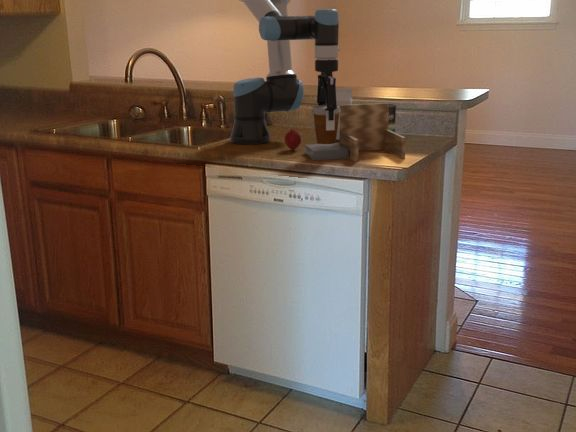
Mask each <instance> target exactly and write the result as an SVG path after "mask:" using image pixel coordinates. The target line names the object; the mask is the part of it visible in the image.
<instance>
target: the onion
mask: <svg viewBox="0 0 576 432" xmlns="http://www.w3.org/2000/svg"><path fill="white" fill-rule="evenodd" d="M301 137H302V136H301V135H300V133H299V132H298V131H297V130H296V129H295V128H294V127H291V128H290V130H289V131H287V132H286V134H285V136H284V144H285V145H286V147H288V148H289V149H290V150H291V151H295V150H296V149H297V148H298V147H299V146H300V145H301V143H302V138H301Z"/></svg>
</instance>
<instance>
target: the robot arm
mask: <svg viewBox="0 0 576 432" xmlns="http://www.w3.org/2000/svg"><path fill="white" fill-rule="evenodd" d="M239 1H240V2H243V4H244V5H245V6H246V7H247V9H248V10H249V11H250V13H252V16H253V17H254V18H255V19H256V20H257V22H258V32H259V37H260V38H261V39H262V40H264V41H266V45H267V55H268V69H269V72H268V74H267V75H266V76H265V78H264V77H249V78H244V79H240V80H237V81H235V82H234V84H233V90H232V91H233V93H232V96H233V115H234V119H233V120H234V122H233V125H232V130H231V133H230V143H232V144H235V143H236V144H237V145H259V144H260V145H261V144H265V143H269V142H270V141H271V133H270V132H269V128H268V125H267V123H266V113H275V112H276V113H277V112H290V111H296V110H297V109H299V108H300V106H301V105H302V103H303V99H304V94H305V92H304V91H305V90H304V85H303V81H302V80H301V79H299V78H298V76H297V73H296V72H295V71H294V70H293V65H292V54H291V53H292V51H291V41H298V40H299V41H303V40H314V58H315V60H314V71H315V72H318V73H320V74H318V75H317V91H316V92H317V94H316V95H317V96H316V104H317V106H321V105H327V108H325V111H326V130H335V109H337V103H336V89H337V87H336V85H337V84H336V77H334V76H333V73H334V72H338V71H339V60H338V59H337V58H338V57H339V52H340V47H339V29H340V28H339V25H340V20H339V12H338V10H337V9H334V8H329V9H327V8H326V9H324V8H322V9H321V8H318V9H316V10H315V12H314V15H299V16H298V15H297V16H294V15H291V16H290V15H289V16H288V5H289V4H290V2H291V0H239Z"/></svg>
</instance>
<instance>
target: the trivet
mask: <svg viewBox="0 0 576 432" xmlns="http://www.w3.org/2000/svg"><path fill="white" fill-rule="evenodd" d="M304 146H305V147H304V148H305V150H304V151H305V154H306V156H308V157H309V158H310V159H311V160H313V161H321V159H325V160H337V159H338V158H343V159H350V158H349V149H348V148H346V147H344V146H343V145H341V144H340V142H336V143H334V144H319V143H315V144H314V143H313V144H305V145H304Z"/></svg>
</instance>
